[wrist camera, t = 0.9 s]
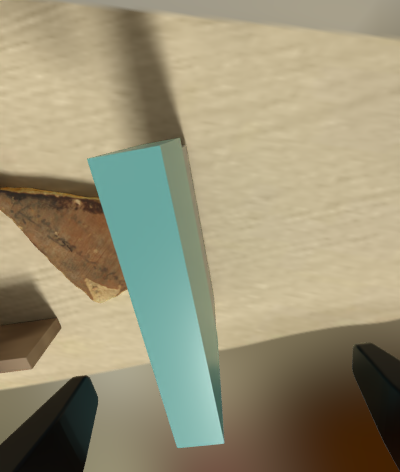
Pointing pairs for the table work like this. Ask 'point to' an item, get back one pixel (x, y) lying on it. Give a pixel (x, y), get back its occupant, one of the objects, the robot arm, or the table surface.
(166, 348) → the block
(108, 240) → the shard
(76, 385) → the robot arm
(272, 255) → the table surface
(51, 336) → the box
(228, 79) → the table surface
